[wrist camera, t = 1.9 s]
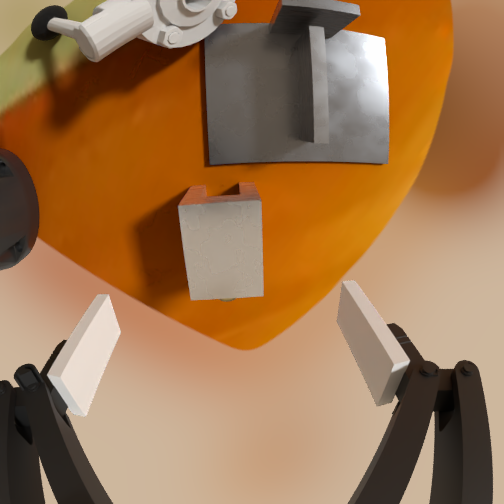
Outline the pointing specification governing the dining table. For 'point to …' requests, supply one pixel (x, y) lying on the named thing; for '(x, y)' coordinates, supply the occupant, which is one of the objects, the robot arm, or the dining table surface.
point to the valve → (135, 23)
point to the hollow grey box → (222, 243)
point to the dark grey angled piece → (297, 88)
